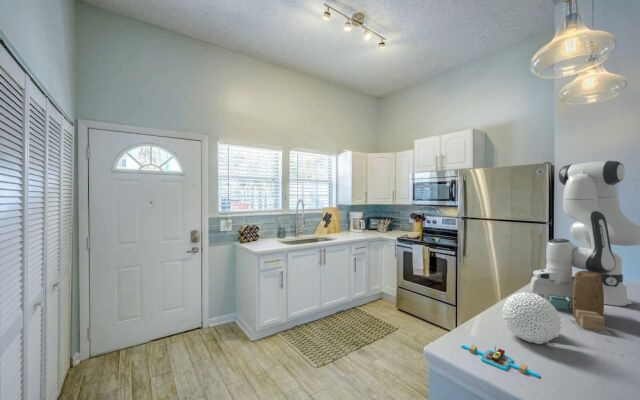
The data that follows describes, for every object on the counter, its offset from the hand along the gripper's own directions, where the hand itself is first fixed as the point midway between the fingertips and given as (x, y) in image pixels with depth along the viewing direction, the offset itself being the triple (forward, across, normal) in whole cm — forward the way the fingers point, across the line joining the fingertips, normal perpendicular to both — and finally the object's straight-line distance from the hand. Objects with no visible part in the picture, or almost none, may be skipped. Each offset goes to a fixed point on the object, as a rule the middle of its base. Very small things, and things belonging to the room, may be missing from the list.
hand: (558, 305), depth 120 cm
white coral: (+2, +20, +36) cm, 41 cm away
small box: (+2, -1, -13) cm, 13 cm away
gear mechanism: (+2, +32, +58) cm, 66 cm away
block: (+2, -6, +10) cm, 12 cm away
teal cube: (+2, 0, 0) cm, 2 cm away
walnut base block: (0, -3, +20) cm, 20 cm away
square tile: (+2, -3, +20) cm, 20 cm away
